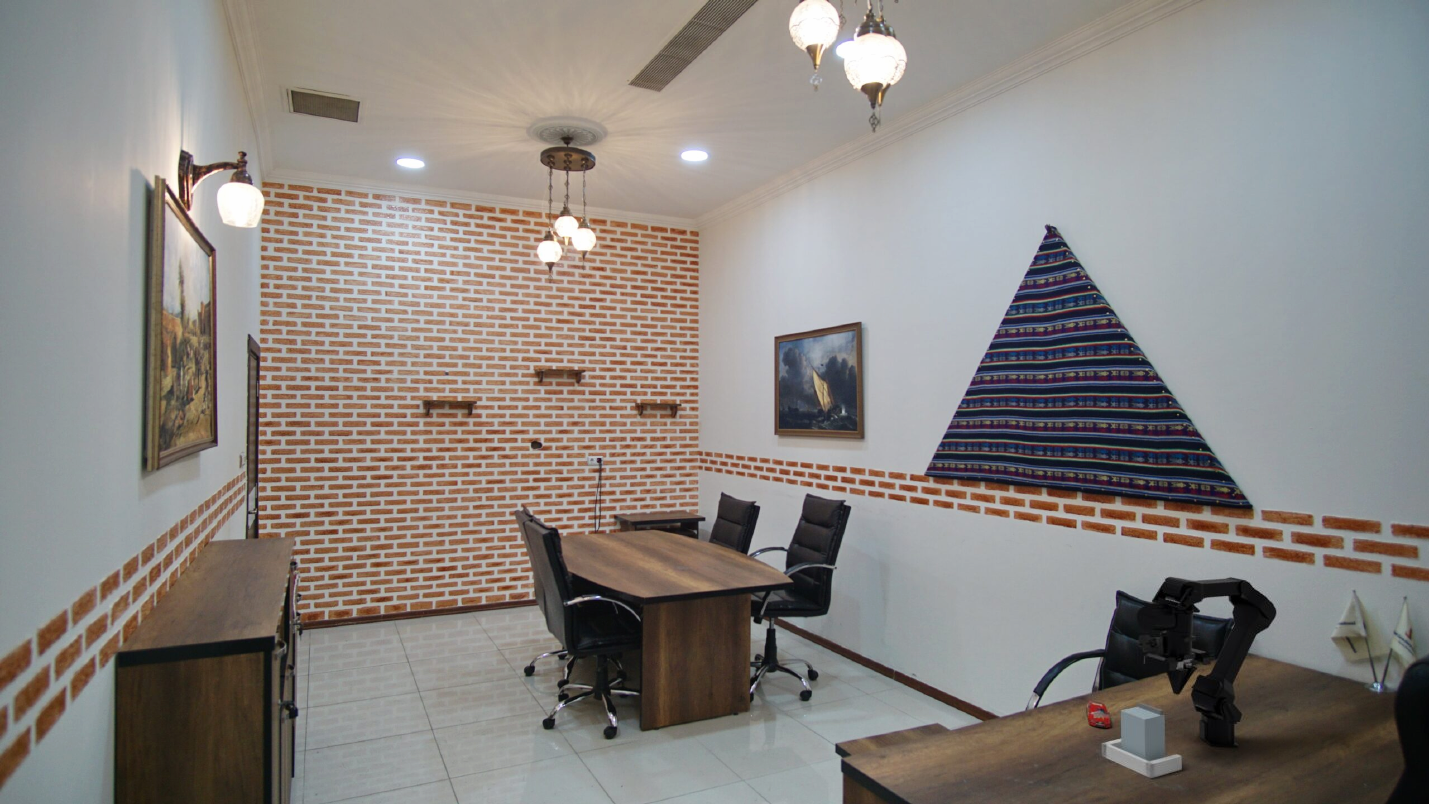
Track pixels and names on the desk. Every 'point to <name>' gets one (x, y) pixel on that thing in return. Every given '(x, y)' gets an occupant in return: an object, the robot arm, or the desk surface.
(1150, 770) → the bay
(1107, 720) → the race car
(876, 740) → the desk surface
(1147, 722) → the pale grey upright block
